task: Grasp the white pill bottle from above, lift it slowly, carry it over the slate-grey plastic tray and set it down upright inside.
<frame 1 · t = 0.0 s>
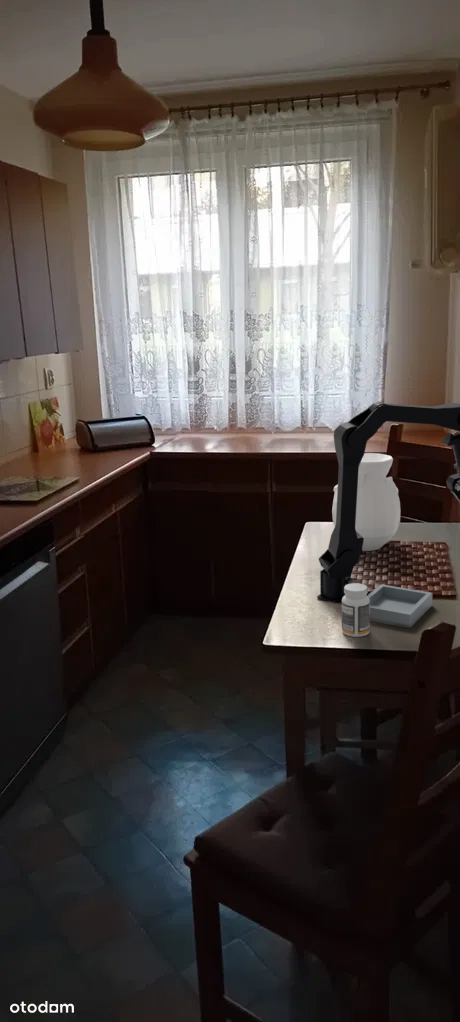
pitcher: (365, 546, 217), on the table
tray: (394, 611, 171), on the table
pill bottle: (355, 633, 161), on the table
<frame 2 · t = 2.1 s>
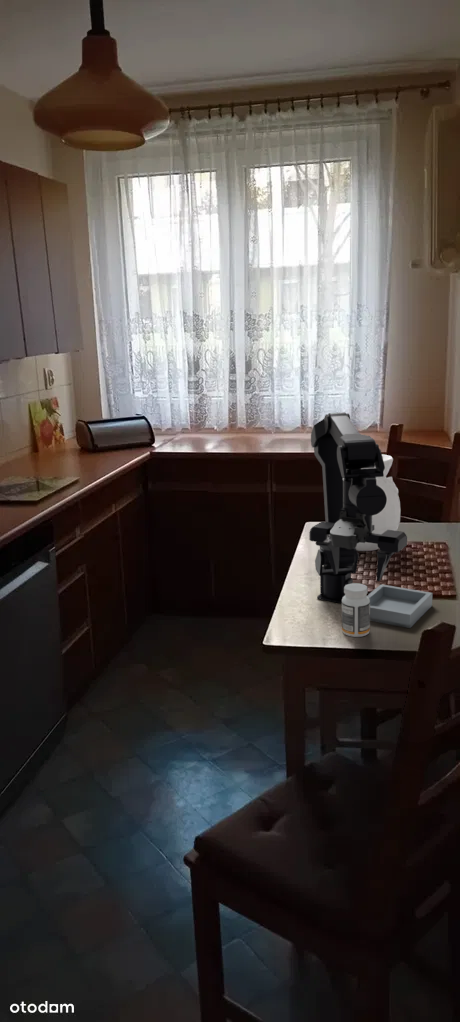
hand: (357, 577, 158), 12 cm above the table, tool pointing down, fingers open, 9 cm apart
nothing on the table moved.
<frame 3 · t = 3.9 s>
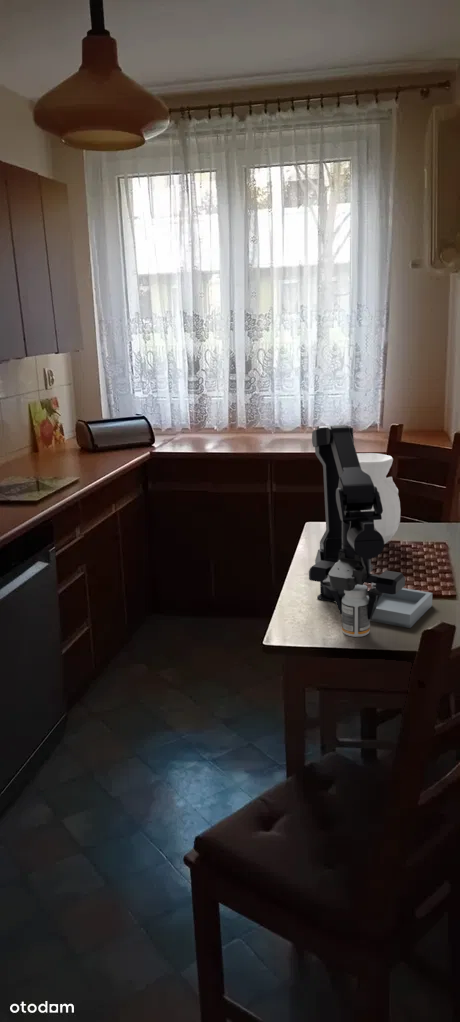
hand: (355, 616, 160), 4 cm above the table, tool pointing down, fingers closed on pill bottle, 6 cm apart
pill bottle: (355, 633, 161), on the table, touching gripper
everything else where it was.
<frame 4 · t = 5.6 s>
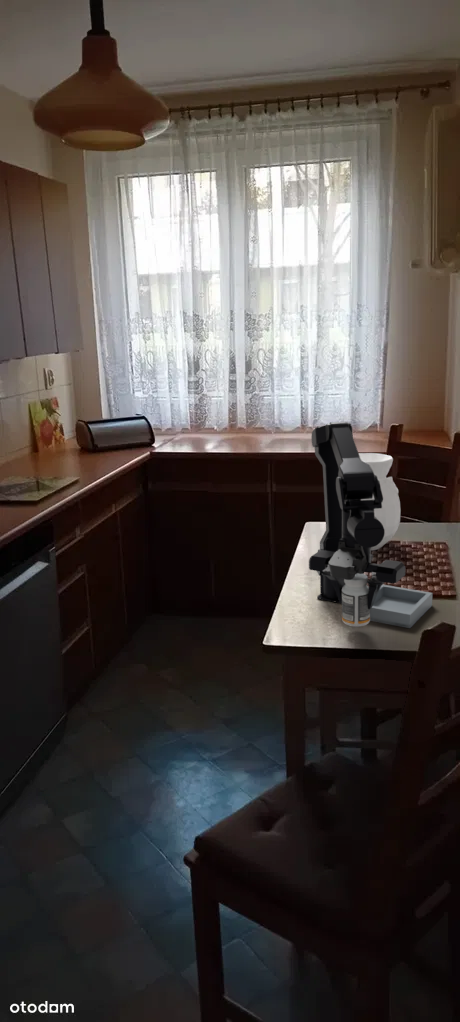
hand: (355, 605, 160), 6 cm above the table, tool pointing down, fingers closed on pill bottle, 6 cm apart
pill bottle: (355, 622, 161), point 2 cm above the table, touching gripper
everything else where it was.
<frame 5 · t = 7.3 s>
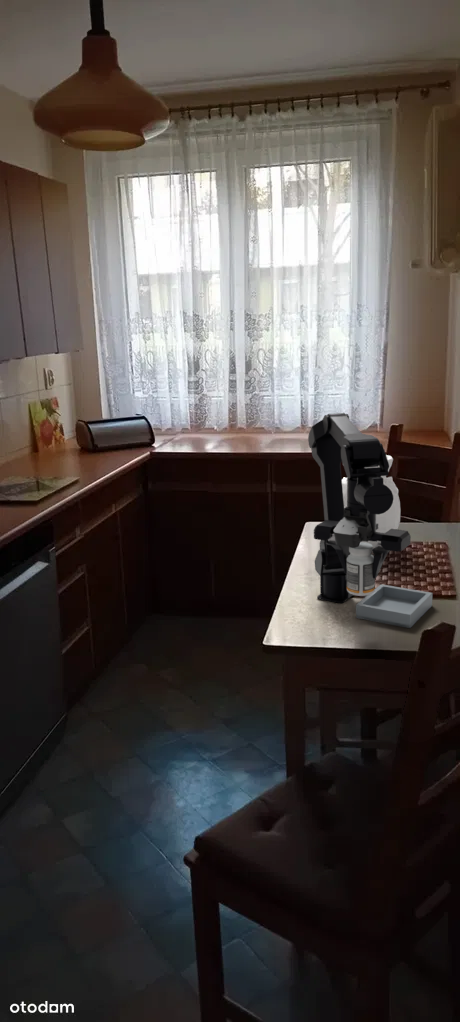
hand: (360, 575, 159), 12 cm above the table, tool pointing down, fingers closed on pill bottle, 6 cm apart
pill bottle: (360, 592, 160), point 8 cm above the table, touching gripper
everything else where it was.
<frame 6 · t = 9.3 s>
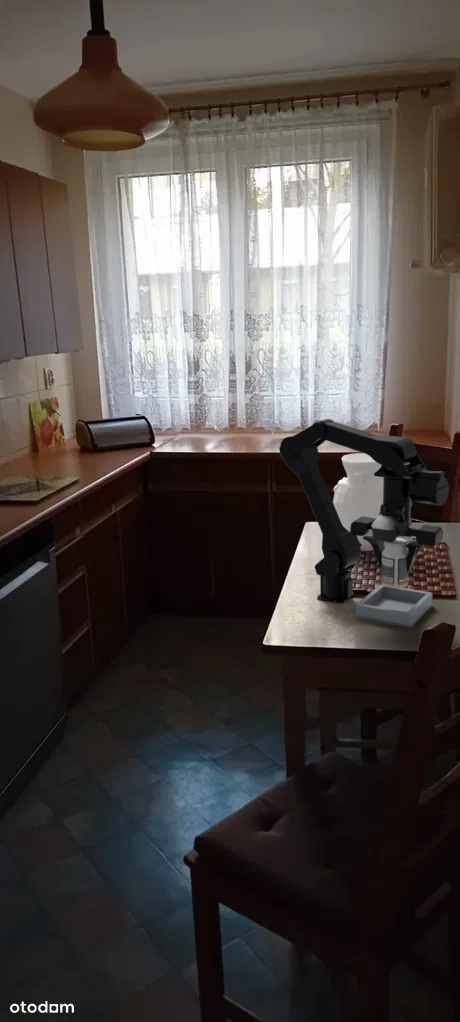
hand: (394, 569, 168), 10 cm above the table, tool pointing down, fingers closed on pill bottle, 6 cm apart
pill bottle: (394, 585, 169), point 6 cm above the table, touching gripper
everything else where it was.
when the fingers open (5 cm above the table, at t = 11.0 s): pill bottle drops 1 cm, resting on tray.
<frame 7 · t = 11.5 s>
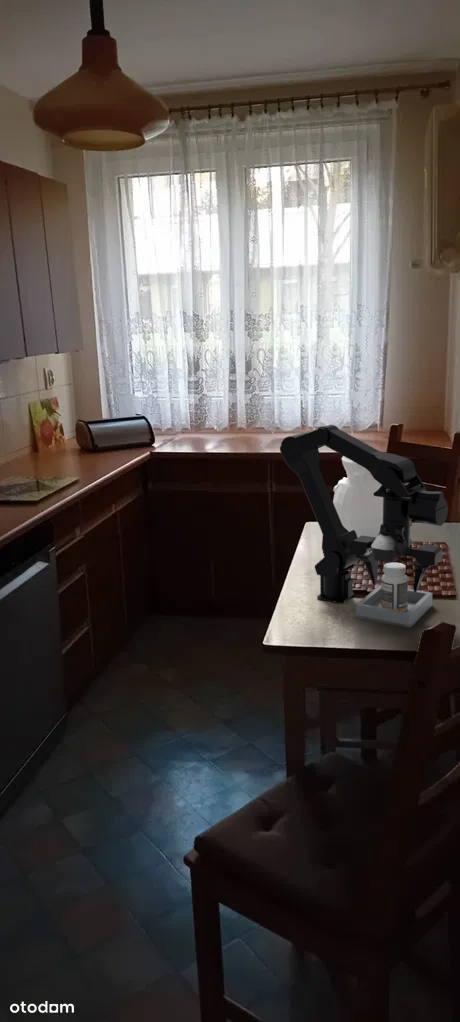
hand: (394, 587, 169), 5 cm above the table, tool pointing down, fingers open, 9 cm apart
pill bottle: (394, 609, 171), resting on tray
everything else where it was.
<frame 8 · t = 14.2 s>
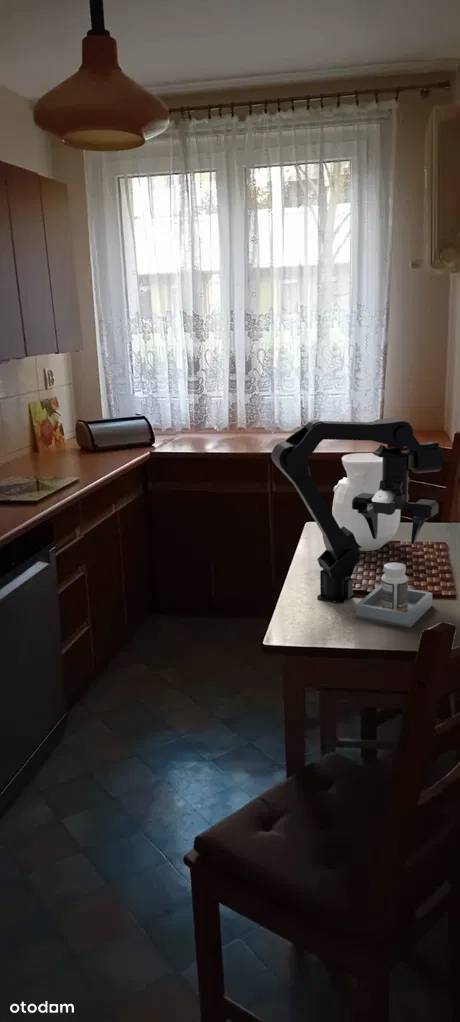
hand: (393, 541, 180), 12 cm above the table, tool pointing down, fingers open, 9 cm apart
nothing on the table moved.
at the end: pill bottle inside the target area on the tray (0.1 cm from its centre), point 0.4 cm above the tray's base; pill bottle tilted 0°; the gripper is holding nothing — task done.
